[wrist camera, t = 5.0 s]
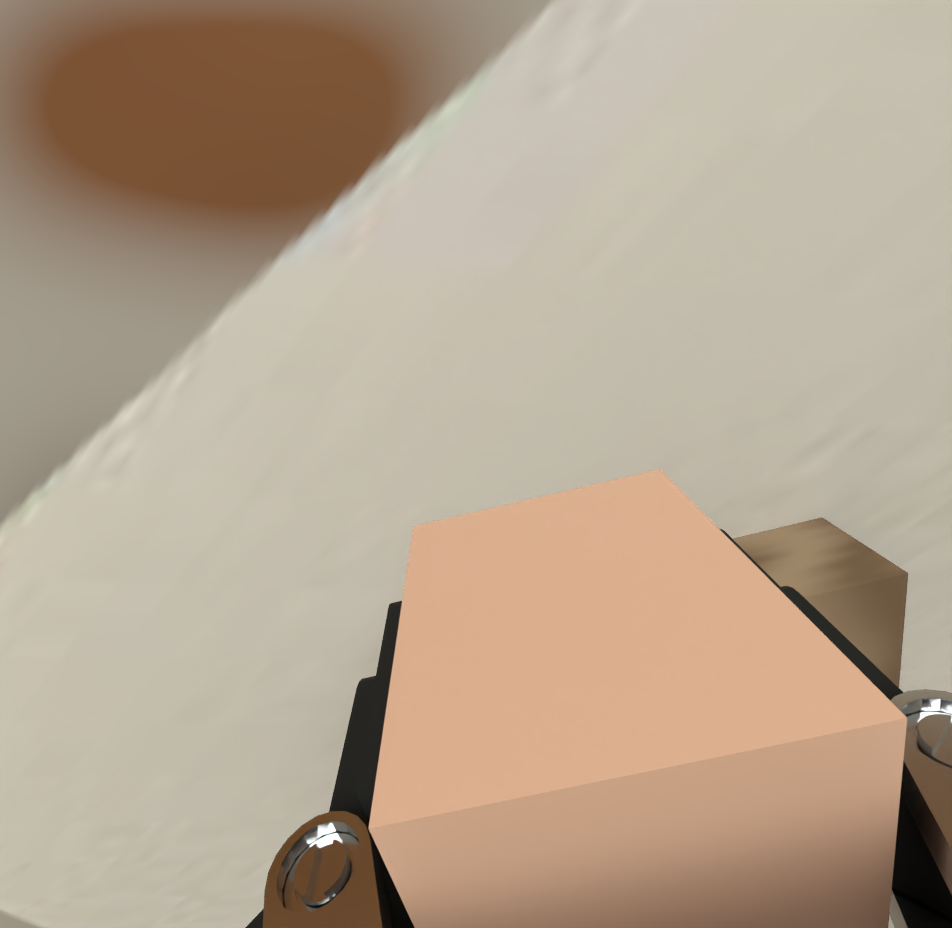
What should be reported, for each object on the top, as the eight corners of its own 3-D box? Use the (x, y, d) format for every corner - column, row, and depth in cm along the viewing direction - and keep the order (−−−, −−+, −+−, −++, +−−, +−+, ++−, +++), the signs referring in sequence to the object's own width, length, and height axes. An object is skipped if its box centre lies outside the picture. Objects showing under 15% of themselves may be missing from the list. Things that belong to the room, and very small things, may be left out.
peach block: (659, 469, 10) (907, 717, 5) (682, 664, 12) (880, 1012, 6) (413, 526, 10) (369, 828, 5) (471, 709, 12) (486, 1084, 7)
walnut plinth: (816, 513, 24) (908, 573, 19) (815, 707, 28) (889, 794, 24) (519, 584, 24) (539, 659, 20) (562, 766, 29) (587, 863, 24)
